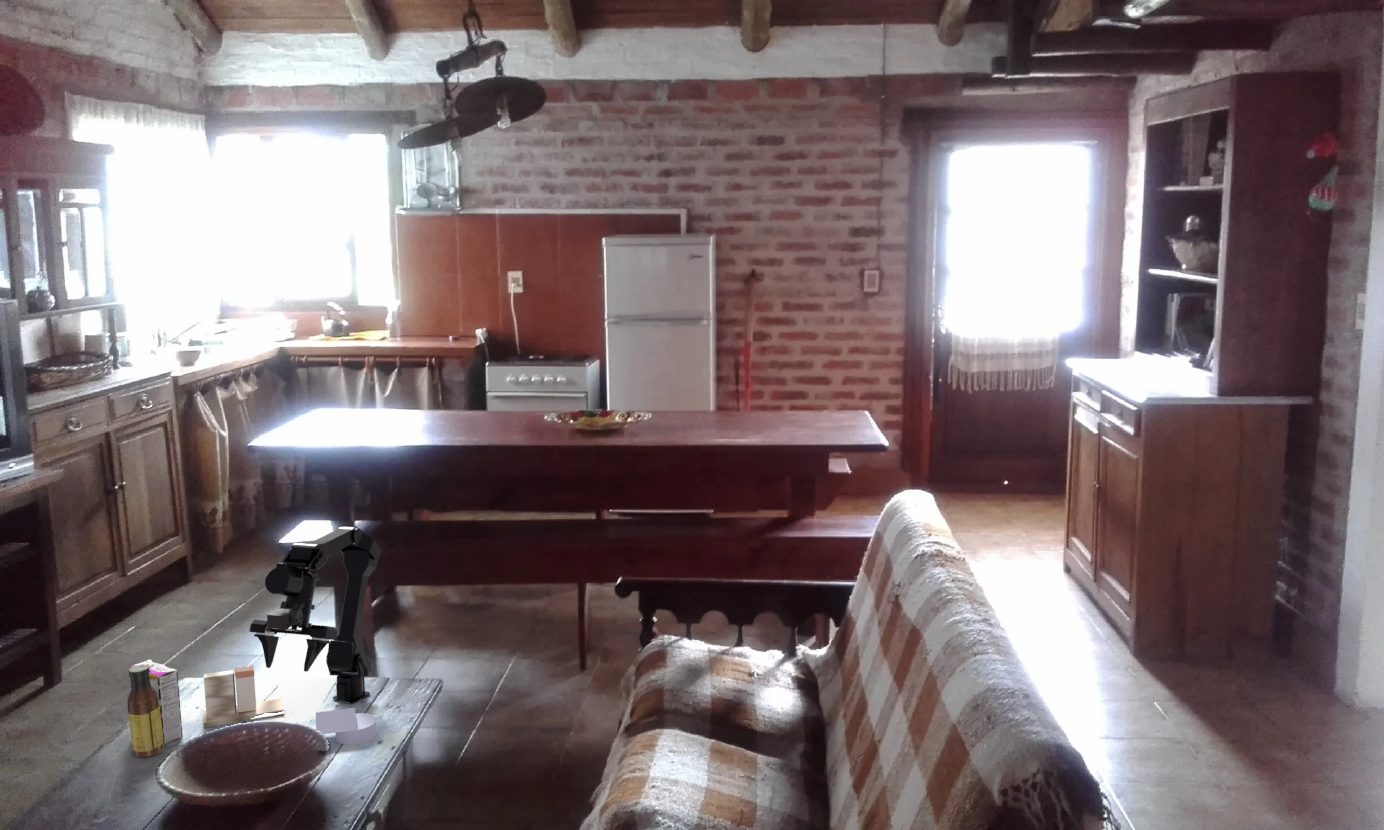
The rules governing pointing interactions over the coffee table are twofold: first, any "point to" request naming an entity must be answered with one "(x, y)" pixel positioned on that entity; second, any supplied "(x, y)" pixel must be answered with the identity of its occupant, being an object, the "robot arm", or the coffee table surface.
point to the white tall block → (245, 688)
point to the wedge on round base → (347, 725)
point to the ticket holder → (229, 701)
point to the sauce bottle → (144, 714)
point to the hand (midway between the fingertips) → (286, 669)
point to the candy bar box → (166, 698)
